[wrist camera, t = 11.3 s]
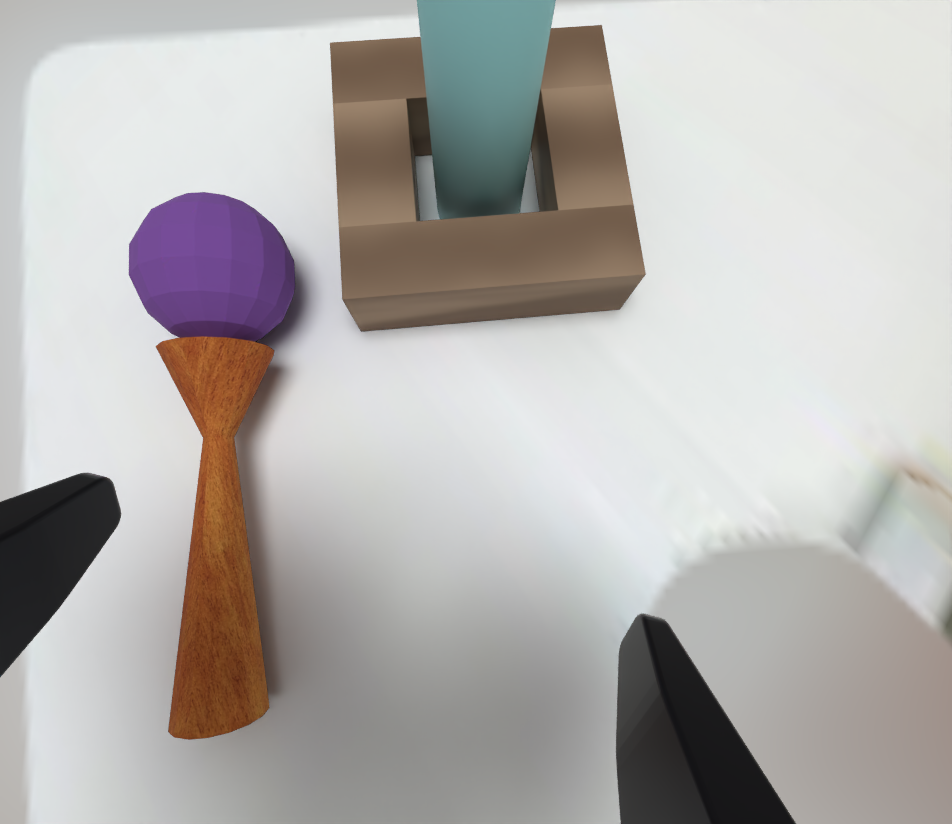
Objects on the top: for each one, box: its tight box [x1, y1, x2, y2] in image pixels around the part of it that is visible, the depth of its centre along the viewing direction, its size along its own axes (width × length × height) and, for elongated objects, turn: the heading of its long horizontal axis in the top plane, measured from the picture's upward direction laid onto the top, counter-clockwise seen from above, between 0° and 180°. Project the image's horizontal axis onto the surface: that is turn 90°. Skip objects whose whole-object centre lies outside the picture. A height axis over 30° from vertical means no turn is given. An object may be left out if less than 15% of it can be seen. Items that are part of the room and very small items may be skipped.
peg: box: [417, 0, 556, 219], centre depth 18 cm, size 4×4×14 cm
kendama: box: [129, 192, 295, 740], centre depth 20 cm, size 6×6×20 cm
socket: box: [330, 25, 645, 331], centre depth 23 cm, size 12×12×4 cm
